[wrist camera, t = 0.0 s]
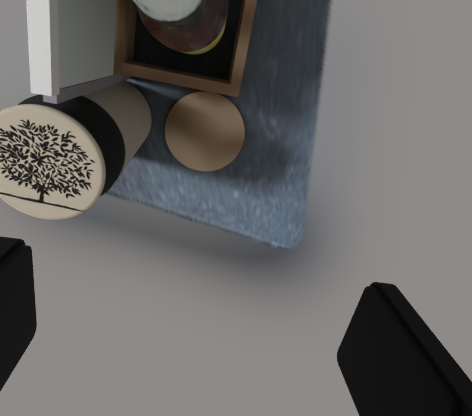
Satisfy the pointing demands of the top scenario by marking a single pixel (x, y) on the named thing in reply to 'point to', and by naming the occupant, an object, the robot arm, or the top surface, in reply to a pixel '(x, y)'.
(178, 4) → the sauce bottle
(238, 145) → the disc
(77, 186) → the stoneware storage canister
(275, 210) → the top surface
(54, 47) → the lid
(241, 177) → the top surface
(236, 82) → the wooden open box
